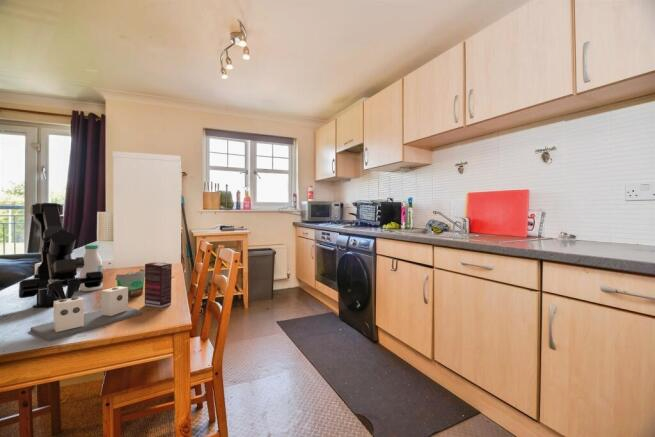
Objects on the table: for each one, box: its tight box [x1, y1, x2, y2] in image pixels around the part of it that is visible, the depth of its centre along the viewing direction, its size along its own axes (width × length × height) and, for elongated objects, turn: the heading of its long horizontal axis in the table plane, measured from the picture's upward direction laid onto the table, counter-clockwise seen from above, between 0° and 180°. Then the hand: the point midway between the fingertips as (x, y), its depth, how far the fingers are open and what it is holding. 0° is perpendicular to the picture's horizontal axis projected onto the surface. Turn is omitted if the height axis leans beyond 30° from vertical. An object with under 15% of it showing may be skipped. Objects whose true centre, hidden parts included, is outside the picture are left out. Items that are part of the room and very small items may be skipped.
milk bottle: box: [79, 244, 104, 292], centre depth 125 cm, size 8×8×20 cm
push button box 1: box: [100, 286, 129, 316], centre depth 95 cm, size 4×6×8 cm
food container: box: [115, 269, 145, 299], centre depth 118 cm, size 12×6×10 cm, turn 168°
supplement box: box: [144, 261, 173, 309], centre depth 107 cm, size 9×5×16 cm, turn 71°
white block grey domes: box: [53, 296, 85, 332], centre depth 83 cm, size 4×6×8 cm
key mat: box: [30, 306, 143, 342], centre depth 90 cm, size 24×13×1 cm, turn 152°
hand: (67, 306), depth 84 cm, fingers closed, pressing on white block grey domes
